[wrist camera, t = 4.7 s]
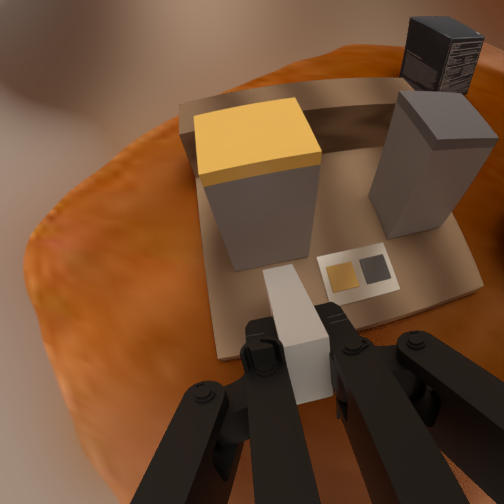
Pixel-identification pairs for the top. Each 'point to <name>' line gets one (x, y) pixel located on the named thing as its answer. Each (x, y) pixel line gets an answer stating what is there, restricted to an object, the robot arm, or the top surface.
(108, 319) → the top surface
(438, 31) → the small box
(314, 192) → the button
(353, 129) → the console
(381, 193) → the button
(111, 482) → the top surface
